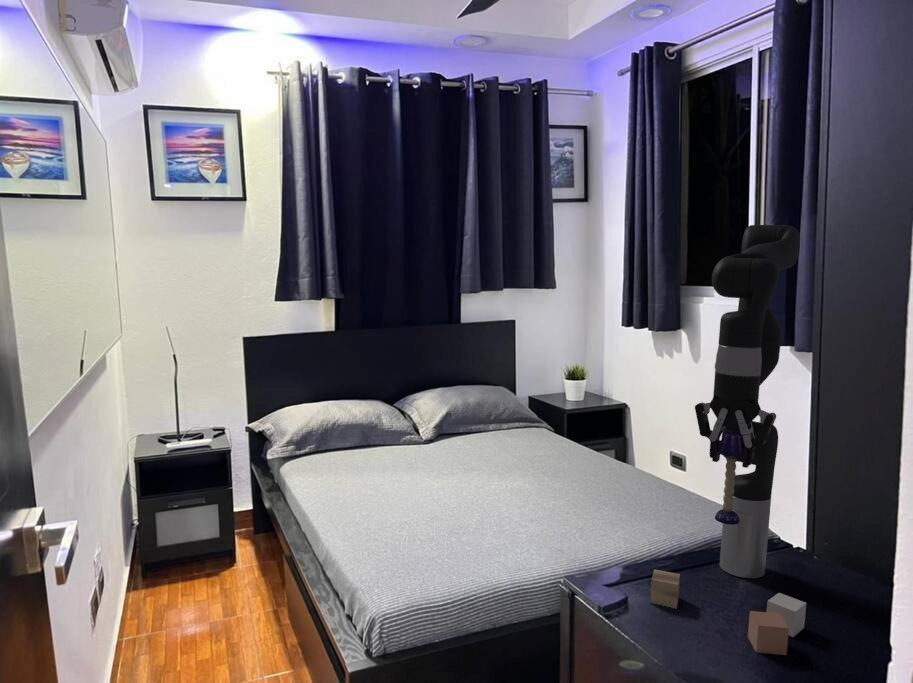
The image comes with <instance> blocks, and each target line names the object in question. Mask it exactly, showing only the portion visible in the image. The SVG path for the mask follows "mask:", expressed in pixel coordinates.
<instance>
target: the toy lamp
mask: <svg viewBox="0 0 913 683" xmlns="http://www.w3.org/2000/svg"><path fill="white" fill-rule="evenodd" d="M720 440H721V442H720V444H719V447H718V453H719V454H720V456H723V457H724V456H726V458H725V460H726V462H725V463H726V464H725V469H726V470H725V473H724V476H725V479H724V488H723V493H724V495H723V499H722V500H723V503H722V509H720V510H718V511H717V512H716V513H715V515H714V520H715V521H717V522H718V523H721V524H723V523H724V524H729V525H734V524H738V523H739V522H740V520H739V516H738V515H737V513H735V512H734V511H732V509H733V504H732V503H733V500H734V497H733V494H734V486H735V480H734V478H735V475H737V473H736V470H737V463H736V462H737V461H736V460H737V458H740V457H743V450H744V443H743V438H742V435H741V433H740V432H737V431H725V432H724V434H723V436H722V435H721V439H720Z"/></svg>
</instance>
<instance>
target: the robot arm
mask: <svg viewBox="0 0 913 683" xmlns="http://www.w3.org/2000/svg"><path fill="white" fill-rule="evenodd" d="M800 249H801V235H800V232H799V230H798V228H796V227H794V226H792V225H787V224H751V225H748V226H747V227H746V228H745V230H744V233H743V235H742V242H741V250H740V251H741V253H736V254H732V255H728V256H725V257H723V258H721V259H720V260H719V261H718V262H717V263H716V265H715V266H714V269H713V270H712V274H711V285H712V287H713V290H714V291H715V292H716V293H717V294H718V295H719V296H720V297H724V298H729V299H730V298H731V299H738V307H737V310H735V311H734V310H733V311H728V312H725V313H723V314H722V316H721V317H720V323H719V333H718V347H717V351H716V354H715V355H716V356H715V363H714V369H715V370H714V383H713V393H712V394H713V396H712V399H711V400H710V402H699V403H696V405H694V410H695V414H696V421H697V426H698V430H699V435H700V436H701V437H705V438H707V439H708V440H709V442H710V443H709V453H708V454H709V458H711V460H712V461H711V462H715V463H718V462H719V461H720V460H721V458H720V457H721V454H719V453H718V447H719V444H720V442H721V439H720V438H721V437H722V436H723V434H724V432H725V431H737V432H740V433H741V435H742V438H743V443H744V450H743V457H740V458H737V460H736V462H739V463H741V464H742V468H744V469H745V468H746V469H748V468H749V466H751V465H754V466H755V468H754V471H752V472H749V473H742V474H736V475H735V478H734V480H735V486H734V494H733V497H734V500H733V503H732V504H733V509H732V511H734V512H735V513H737V515H738V516H739V520H740V522H739V523H738V524H734V525H729V524H724V523H722V529H721V540H720V541H721V542H720V543H721V544H720V552H719V553H720V556H719V568H720V569H722V571H724V572H726V573H727V574H729V575H733V576H736V577H739V578H744V579H759V578H761V577H763V576H765V572H766V562H767V561H766V560H767V552H768V540H769V539H768V538H769V530H770V529H769V527H770V518H771V517H770V516H771V515H770V514H771V502H772V493H773V485H774V484H773V483H774V476H775V475H774V474H775V466H776V461H777V460H776V458H777V453H778V447H779V432H778V428H777V427H776V426H775V425H774V423H775V422H776V419H777V413H775V412H768V411H765V410H762V408H761V406H760V403H759V397H760V386H761V385H762V384H763V383H764V382H765V381H766V379H768V377H770V375H771V374H772V373H773V372H774V370H775V368H776V367H777V365H778V363H779V360H780V352H781V342H782V330H781V327H780V326H781V325H780V324H779V322H778V320H777V317H776V316H775V314H774V313H773V310H772V309H771V308H770V306H769V305H770V302H771V300H772V297H773V295H774V292H775V290H776V288H777V285H778V282H779V272H781V271H785V270H786V269H790V268H793V267H794V265H795V264H796V263H797V261H798V259H799V255H800ZM710 410H711V411H712V412H713V414H714V416H715V417H716V420H715V422H714V425H713V428H712V429H711V427H710V426H711V425H710V421H709V416H708V415H709V414H710ZM757 417H759V421H754V420H755V419H756V418H757ZM723 457H724V459H726V456H723Z"/></svg>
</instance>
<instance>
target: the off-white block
mask: <svg viewBox="0 0 913 683" xmlns="http://www.w3.org/2000/svg"><path fill="white" fill-rule="evenodd" d="M806 610H807V602H806V601H802V600H799V599H797V598H794V597H792V596H789V595H786V594H784V593H781V592H778V593H776V594H775V595H774V596H772V597H771V598H769V599H768V600H767V604H766V612H768V613H779V614H780V616H781V617H782V619H783V620H784V622H785V623H786V625H787V626H788V627H789V633H788V637H791V638H794V637H796V636H797V635H798V634H799V633H800V632H801V631H802V630H803V629H804V628H805V623H806V622H805V620H806V613H807V612H806Z"/></svg>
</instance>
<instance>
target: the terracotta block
mask: <svg viewBox="0 0 913 683" xmlns="http://www.w3.org/2000/svg"><path fill="white" fill-rule="evenodd" d="M788 633H789V627H788V626H787V625H786V623H785V622H784V620H783V619H782V617H781V616H780V614H779V613H768V612H767V611H766V612H765V611H756V610H755V611H753V610H749V618H748V629H747V638H748V640H749V642H750V643H751V645H752V648H753V649H754V651H755V653H759V654H771V655H781V656H787V655H788V644H789V642H788V641H789V636H788Z"/></svg>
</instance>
